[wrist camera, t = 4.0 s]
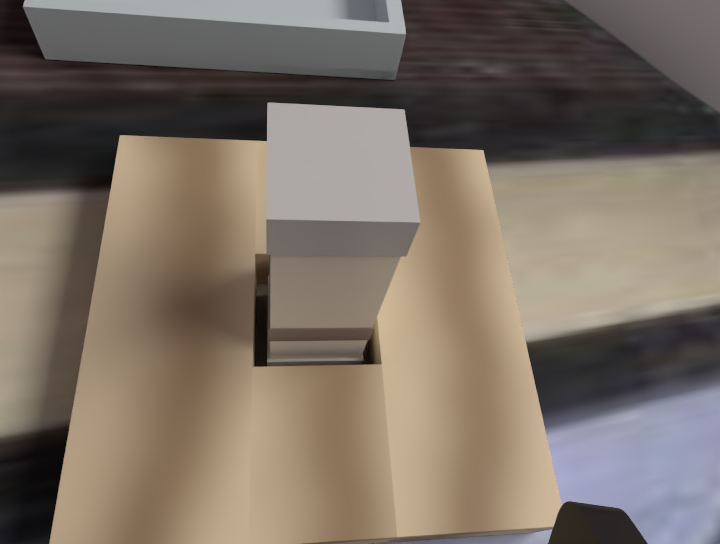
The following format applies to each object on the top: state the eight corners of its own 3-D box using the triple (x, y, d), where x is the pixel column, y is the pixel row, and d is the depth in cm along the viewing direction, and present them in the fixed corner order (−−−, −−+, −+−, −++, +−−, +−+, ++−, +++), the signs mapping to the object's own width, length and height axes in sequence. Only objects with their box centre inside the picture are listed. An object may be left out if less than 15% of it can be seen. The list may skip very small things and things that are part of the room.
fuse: (267, 376, 22) (266, 219, 13) (267, 294, 24) (267, 102, 15) (357, 374, 23) (420, 222, 13) (352, 294, 25) (404, 109, 15)
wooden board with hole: (72, 563, 19) (46, 560, 16) (132, 172, 26) (120, 135, 24) (535, 532, 21) (566, 525, 19) (467, 183, 29) (483, 150, 26)
